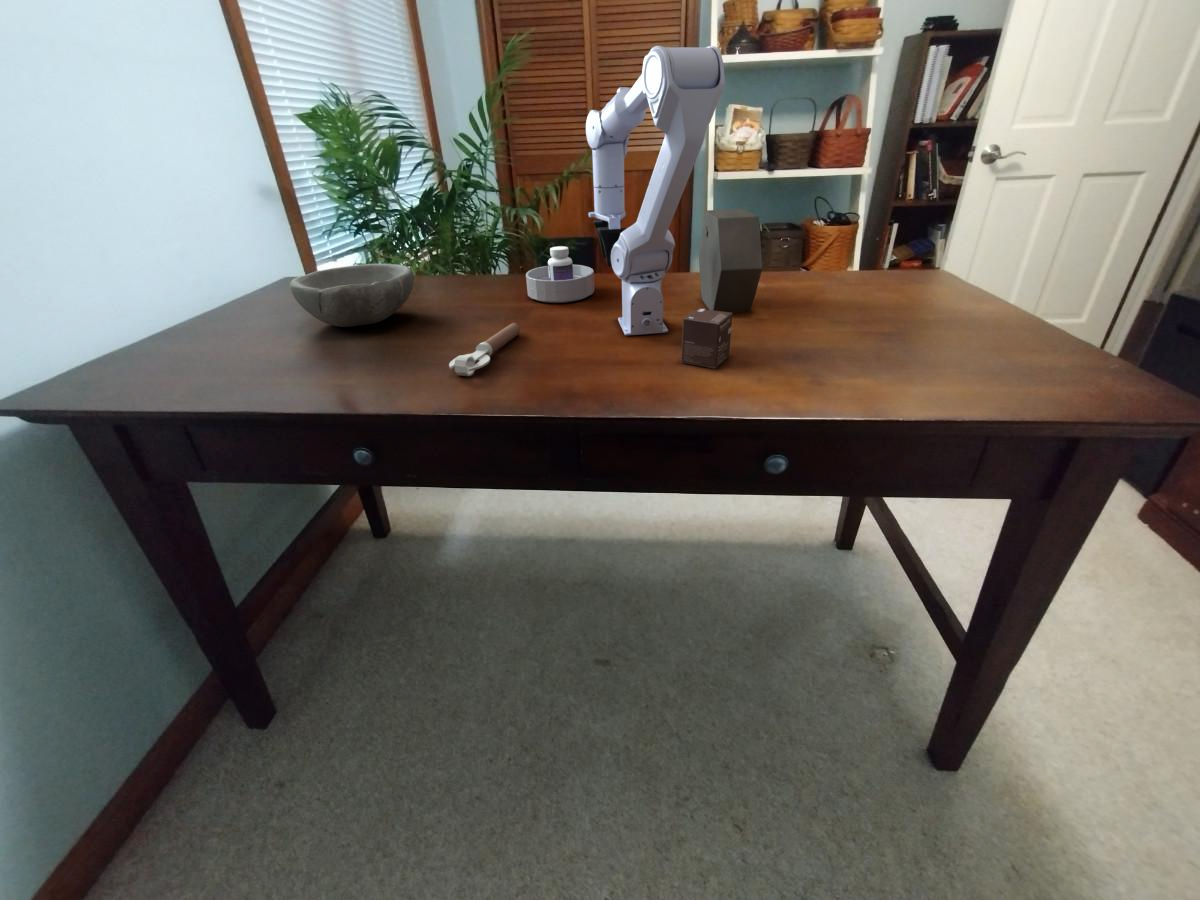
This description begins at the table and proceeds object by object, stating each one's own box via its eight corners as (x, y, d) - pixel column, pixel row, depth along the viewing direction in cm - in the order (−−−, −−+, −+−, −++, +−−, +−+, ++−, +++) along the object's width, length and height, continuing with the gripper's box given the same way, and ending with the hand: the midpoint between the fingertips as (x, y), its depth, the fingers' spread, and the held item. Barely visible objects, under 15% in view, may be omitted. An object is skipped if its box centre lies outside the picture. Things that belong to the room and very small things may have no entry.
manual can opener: (494, 333, 102) (492, 317, 101) (524, 334, 101) (523, 318, 100) (445, 377, 85) (441, 359, 84) (480, 379, 84) (477, 361, 83)
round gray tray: (597, 301, 117) (596, 278, 115) (528, 306, 116) (525, 283, 114) (590, 284, 130) (589, 262, 128) (528, 288, 129) (526, 266, 126)
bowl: (440, 306, 119) (431, 259, 114) (389, 342, 100) (375, 288, 95) (345, 304, 123) (332, 258, 118) (279, 339, 104) (260, 286, 99)
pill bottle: (579, 292, 122) (576, 247, 117) (562, 297, 119) (559, 251, 114) (562, 288, 125) (558, 244, 120) (545, 294, 122) (541, 248, 117)
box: (715, 370, 84) (719, 323, 80) (679, 363, 87) (681, 318, 83) (729, 356, 88) (733, 312, 84) (695, 350, 91) (697, 307, 87)
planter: (764, 297, 99) (757, 186, 100) (722, 300, 99) (715, 188, 99) (738, 322, 116) (732, 227, 116) (703, 324, 116) (696, 229, 116)
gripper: (584, 183, 107) (587, 255, 114) (591, 192, 95) (594, 271, 102) (619, 181, 107) (620, 252, 114) (631, 189, 95) (631, 269, 102)
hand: (610, 261), depth 108 cm, fingers open, 7 cm apart
